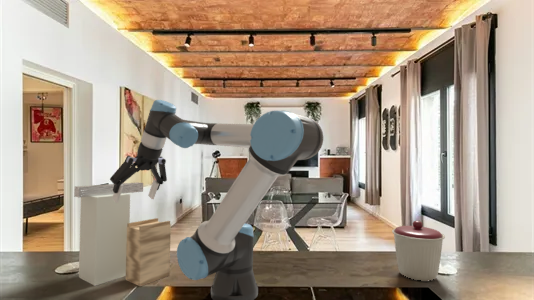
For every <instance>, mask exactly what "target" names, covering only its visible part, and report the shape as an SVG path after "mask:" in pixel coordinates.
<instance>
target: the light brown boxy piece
mask: <svg viewBox="0 0 534 300" xmlns="http://www.w3.org/2000/svg"><path fill="white" fill-rule="evenodd" d="M171 227H172V224H171V220H165V221H159V218H156V217H155V218H150V219H145V220H140V221H139V220H138V221H134V222H133V221H132V222H130V223H127V246H126V276H125V280H126V281H128V282H130V283H132V284H134V285H136V286H138V287H141V286H146V285H149V284H150V283H154V282H156V281H158V280H162V279H165V278H167V277H170V273H171V271H170V270H171V268H170V267H171V233H172V232H171V231H172V229H171Z"/></svg>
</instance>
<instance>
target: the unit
mask: <svg viewBox="0 0 534 300" xmlns="http://www.w3.org/2000/svg"><path fill="white" fill-rule="evenodd" d="M112 197H113V194H112V195H101V196H90V197H80V214H79V215H80V217H79V219H80V221H79V224H80V226H79V256H78V260H79V261H78V278H79V279H81V280H83V281H85V282H86V283H89V284H91V285H92V286H94V287H95V286H98V285H101V284H105V283H108V282H111V281H114V280H118V279H120V278H123V277H126V246H127V223H131V222H130V220H131V219H130V213H131V210H130V209H131V193H123V194H121V195H120V198H119V201H118V203H116V202H115V201H114V200H113V199H112Z"/></svg>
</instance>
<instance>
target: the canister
mask: <svg viewBox="0 0 534 300" xmlns="http://www.w3.org/2000/svg"><path fill="white" fill-rule="evenodd" d="M391 232H392V234H393V236H394V237H393V238H394V247H395V256H396V263H397V264H396V265H397V269H398V271H399V273H400V274H401V275H402V276H403V275H404V277H405V276H406V277H405V278H407V277H408V279H409V278H411V279H410V280H413V279H414V280H413V281H417V280H421V281H420V282H429V281H428V280H431V281H434V280H435V279H437V278H438V274H439V272H440V264H441V256H442V249H443V242H444V241H443V240H444V239H445V238H446V236H445V235H444V234H443V233H441V232H440V231H439V230H437V229H434V228H430V227H427V226H426V227H425V226H424V223H423V222H422V221H420V220H414V221H413V222H412V225H399V226H397V227H396V228H393V229H392V230H391ZM433 279H434V280H433Z"/></svg>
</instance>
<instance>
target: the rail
mask: <svg viewBox="0 0 534 300" xmlns="http://www.w3.org/2000/svg"><path fill="white" fill-rule="evenodd" d="M122 185H123V188H122V192H121V194H123V193H125V194H131V193H132V194H133V193H142V192H144V182H124V183H123V184H122ZM113 187H114V184H113V183H111V184H109V183H108V184H96V185H95V184H91V185H80V186H79V185H77V186H74V192H73V193H74V195H73V197H75V198H81V197H90V196H101V195H112V194H114V192H113Z"/></svg>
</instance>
